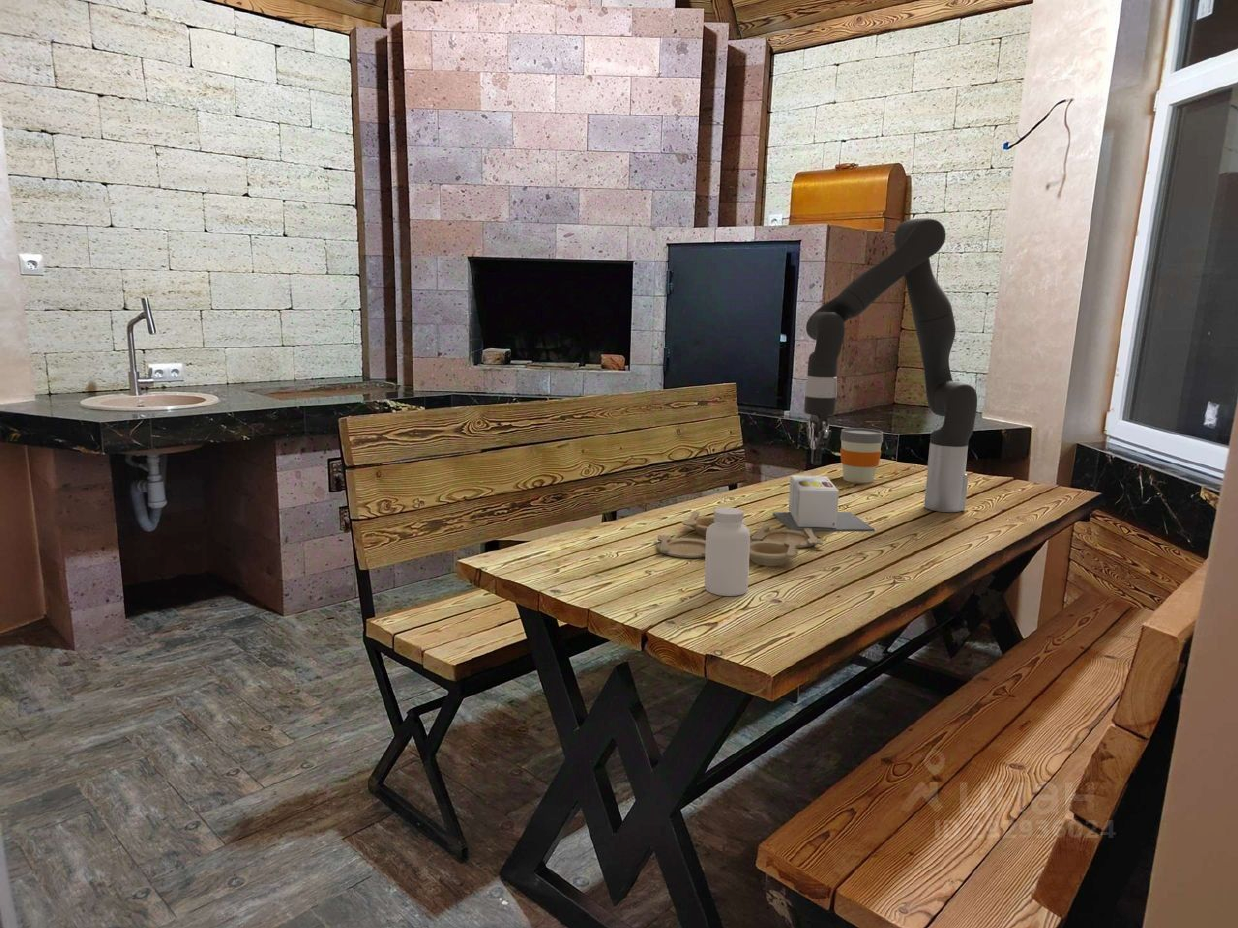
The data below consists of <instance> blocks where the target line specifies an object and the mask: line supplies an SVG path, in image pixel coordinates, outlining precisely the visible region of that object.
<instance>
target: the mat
mask: <svg viewBox="0 0 1238 928" xmlns="http://www.w3.org/2000/svg"><path fill="white" fill-rule="evenodd" d="M772 515H774V516H775V517H776V518H777V519H778V520H779V522H780V523H782V524H783V525H784V526H785V527H786V529H789V530H797V531H803V532H804V529H805V528H809V529H812V531H813V532H864V531H865V532H870V531H871V532H872V531H873V532H876V531H875V528H874V527H872V526H871V525H869V524H868V523H866V522H865V521H864V520H862V519H861V518H859V517H858V516H856V515H855V514H853V513H852V512H851V511H837V526H836V528H824V527H798V526H797V524H796V522H795V520H794V519H793V517H792V515H791V513H790V511H789V512H788V511H787V512H786V511H784V512H783V511H780V512H779V511H777V512H772Z"/></svg>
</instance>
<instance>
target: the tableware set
mask: <svg viewBox="0 0 1238 928" xmlns="http://www.w3.org/2000/svg"><path fill="white" fill-rule="evenodd" d="M713 523H715V522H714V515H701V516H700V511H697V510H693V511H692V512H691V514H690V516H689V518H688V519H684V520H682V521H681V524H682V525H683V526H688V527H691V528H693V529H694V530H696V533H697V534H698V535H700V536H703V537H706V531H707V528H708V527H709V526H710V525H711V524H713ZM657 541H658V544H657V547H656V548H657V550H658V551H659V553H661V554H664V555H667V556H671V557H675V558H682V559H684V558H685V559H697V558H705V554H706V539H700V538H699V539H698V538H689V537H682V538H681V537H677V538H672V536H671V535H670V534H668V535H667V534H663V535H662V534H657ZM815 545H820V546H823V545H824V542H823V541H822V540H821V539H819V538H818V537H817V536H816V535H814V531H812V529H809V528H805V529H804V531H797V530H790V529H789V528H786V529H785V528H779V529H778V528H776V529H770V526H769V525H768V526H767V525H763V526H762V527H761V528H760V529H758V531H756V533H754V534H752V536H750V551H749V558H750V559H751V561H752V562H753V563H754V564H756V565H759V566H763V565H764V566H765V567H781V566H784V565H786V563H787V561H788V560H789V558H790V559H794V558H796V556H797V555H798V553H799V549H803V548H809V547H813V546H815ZM783 564H784V565H783Z"/></svg>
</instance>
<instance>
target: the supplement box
mask: <svg viewBox="0 0 1238 928" xmlns="http://www.w3.org/2000/svg"><path fill="white" fill-rule="evenodd" d="M839 493H840V491H839V490H838V488H837V487H836V486H835V485H834V483H833V482H832V481H831V480H830V479H829V477H828V476H820V475H800V474H799V475H795V474H793V475H790V480H789V496H788V497H789V498H788V511H789V512H790V513H791V515H792V517H793V519H794V520H795V522H796V524H797V526H798V527H824V528H836V526H837V512H839V510H838V507H839Z"/></svg>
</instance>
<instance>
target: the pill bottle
mask: <svg viewBox="0 0 1238 928" xmlns="http://www.w3.org/2000/svg"><path fill="white" fill-rule="evenodd" d="M713 516H714V522H715V523H713V524H711V525H710V526H709V527H708V528H707V531H706V536H705V540H706V554H705V557H704V558H705V560H704V561H705V562H704V587H705V590H706V591H707V592H708V593H710V594H713V595H717V596H721V597H722V596H723V597H736V596H742V595H743V594H746V593H747V591H748V589H749V588H748V587H749V576H750V575H749V574H750V573H749V568H750V555H749V551H750V542H751V531H750V529H749V527H748V526H747V525H746V524H743V523H744V511H743V510H742V509H740V508H736V507H718V508H715V509H714V510H713Z"/></svg>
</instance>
